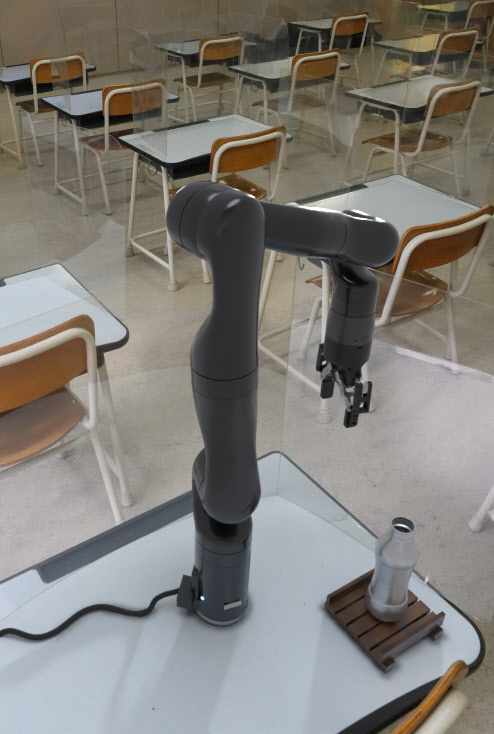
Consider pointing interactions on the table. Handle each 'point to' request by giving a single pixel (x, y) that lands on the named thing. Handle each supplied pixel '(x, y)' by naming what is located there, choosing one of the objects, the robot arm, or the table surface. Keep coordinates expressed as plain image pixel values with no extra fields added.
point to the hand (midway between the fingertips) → (337, 411)
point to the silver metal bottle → (392, 570)
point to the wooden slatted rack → (360, 623)
